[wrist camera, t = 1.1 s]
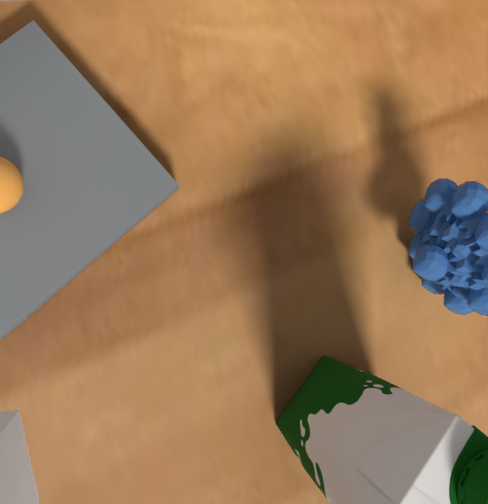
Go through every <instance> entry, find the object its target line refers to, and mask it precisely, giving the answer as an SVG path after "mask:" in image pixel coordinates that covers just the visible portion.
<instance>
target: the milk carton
mask: <svg viewBox="0 0 488 504" xmlns="http://www.w3.org/2000/svg"><path fill="white" fill-rule="evenodd" d="M276 425H277V426H278V428H279V429H280V431H281V432H282V434H283V436H284V437H285V439H286V440H287V442H288V444H289V445H290V447H291V448H292V450H293V451H294V453H295V455H296V456H297V458H298V459H299V461H300V463H301V464H302V466H303V467H304V469H305V470H306V472H307V473H308V474H309V476H310V477H311V478H312V480H313V481H314V482H315V484H316V485H317V486H318V488H319V489H320V490H321V492H322V493H323V494H324V495H325V497H326V498H327V499H328V501H329V502H330V503H331V504H488V437H487V436H486V435H485V434H484V433H482V432H481V431H480V430H479V429H477V428H476V427H475V426H470V425H469V424H468V423H467V422H466V421H465V420H463V419H462V418H461V417H460V416H458V415H457V414H455V413H452V412H450V411H447V410H445V409H442V408H440V407H438V406H436V405H434V404H432V403H430V402H428V401H426V400H424V399H422V398H420V397H418V396H416V395H414V394H412V393H410V392H407V391H405V390H403V389H401V388H399V387H397V386H395V385H393V384H391V383H389V382H387V381H385V380H383V379H381V378H378V377H376V376H374V375H372V374H370V373H367V372H365V371H362V370H360V369H357V368H355V367H352V366H349V365H347V364H344V363H341V362H339V361H336V360H333V359H331V358H328V357H326V356H323V357H322V358H321V360H320V361H319V363H318V364H317V365H316V367H315V368H314V370H313V371H312V372H311V374H310V375H309V377H308V378H307V379H306V381H305V382H304V384H303V385H302V386H301V388H300V389H299V391H298V392H297V393H296V395H295V396H294V398H293V399H292V400H291V402H290V403H289V405H288V406H287V407H286V409H285V410H284V412H283V413H282V414H281V416H280V417H279V419H278V420H277V421H276Z"/></svg>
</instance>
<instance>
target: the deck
mask: <svg viewBox="0 0 488 504" xmlns="http://www.w3.org/2000/svg"><path fill="white" fill-rule="evenodd" d="M0 157H3V158H5V159H7V160H8V161H10V162H11V163H12V164H13V165H14V166H15V167H16V168H17V169H18V170H19V172H20V174H21V176H22V179H23V184H24V188H23V194H22V196H21V199H20V200H19V202H18V203H17V204H16V205H15V206H14V207H13V208H11V209H10V210H8V211H6V212H3V213H0V342H1V341H2V340H3V339H4V338H5V337H6V336H8V335H9V334H10V333H11V332H12V331H13V330H15V329H16V328H17V327H18V326H19V325H20V324H22V323H23V322H24V321H25V320H26V319H27V318H29V317H30V316H31V315H32V314H33V313H35V312H36V311H37V310H38V309H39V308H40V307H42V306H43V305H44V304H45V303H46V302H47V301H49V300H50V299H51V298H52V297H53V296H54V295H56V294H57V293H58V292H59V291H60V290H61V289H63V288H64V287H65V286H66V285H67V284H68V283H70V282H71V281H72V280H73V279H74V278H75V277H77V276H78V275H79V274H80V273H81V272H82V271H84V270H85V269H86V268H87V267H88V266H89V265H91V264H92V263H93V262H94V261H95V260H96V259H98V258H99V257H100V256H101V255H102V254H103V253H105V252H106V251H107V250H108V249H109V248H110V247H112V246H113V245H114V244H115V243H116V242H117V241H119V240H120V239H121V238H122V237H123V236H125V235H126V234H127V233H128V232H129V231H130V230H132V229H133V228H134V227H135V226H136V225H137V224H139V223H140V222H141V221H142V220H143V219H144V218H146V217H147V216H148V215H149V214H150V213H151V212H153V211H154V210H155V209H156V208H157V207H158V206H160V205H161V204H162V203H163V202H164V201H165V200H167V199H168V198H169V197H170V196H171V195H172V194H174V193H175V192H176V191H177V190H178V187H179V184H178V183H177V182H176V181H175V180H174V179H173V177H172V176H171V175H170V174H169V173H168V172H167V171H166V169H165V168H164V167H163V166H162V165H161V164H160V163H159V162H158V160H157V159H156V158H155V157H154V156H153V155H152V154H151V152H150V151H149V150H148V149H147V148H146V147H145V146H144V145H143V143H142V142H141V141H140V140H139V139H138V138H137V137H136V136H135V134H134V133H133V132H132V131H131V130H130V129H129V128H128V126H127V125H126V124H125V123H124V122H123V121H122V120H121V119H120V117H119V116H118V115H117V114H116V113H115V112H114V111H113V109H112V108H111V107H110V106H109V105H108V104H107V103H106V102H105V100H104V99H103V98H102V97H101V96H100V95H99V94H98V92H97V91H96V90H95V89H94V88H93V87H92V86H91V85H90V83H89V82H88V81H87V80H86V79H85V78H84V77H83V76H82V74H81V73H80V72H79V71H78V70H77V69H76V68H75V66H74V65H73V64H72V63H71V62H70V61H69V60H68V59H67V57H66V56H65V55H64V54H63V53H62V52H61V51H60V49H59V48H58V47H57V46H56V45H55V44H54V43H53V42H52V40H51V39H50V38H49V37H48V36H47V35H46V34H45V33H44V31H43V30H42V29H41V28H40V27H39V26H38V25H37V23H36V22H35V21H34V20H33V21H31V22H30V23H28V24H27V25H26V26H24V27H23V28H21V29H20V30H19V31H17V32H16V33H15V34H13V35H12V36H10V37H9V38H8V39H6V40H5V41H3V42H2V43H1V44H0Z"/></svg>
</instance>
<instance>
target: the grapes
mask: <svg viewBox="0 0 488 504" xmlns="http://www.w3.org/2000/svg"><path fill="white" fill-rule="evenodd" d="M409 225H410V226H411V227H412V228H413V229H414V230H415V231H417V232H418V233H416V234H415V235H414V236H413V238H412V239H411V241H410V245H409V256H410V257H411V258H413V259H414V261H413V271H414V272H415V273H416V274H418V275H419V276H420V277H422V286H423V287H424V288H425V289H427V290H428V291H430V292H432V293H433V294H440V295H441V294H444V293H445V294H444V306H445V307H447V308H448V309H449V310H450V311H452V312H454V313H456V314H461V315H466V314H469V313H472V312H473V311H475V312H477V313H478V314H480V315H486V316H488V189H487V188H486V187H485V186H484V185H482V184H480V183H478V182H476V181H466V182H465V183H463V184H461V185H459V186H457V185H456V183H455V182H453V181H451V180H449V179H437V180H436V181H434V182H432V183H431V184H430V186H429V187H428V189H427V190H426V194H425V198H424V199H422V200H420V201H419V202H417V203H415V205H414V206H413V208H412V209H411V212H410V216H409Z"/></svg>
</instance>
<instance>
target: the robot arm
mask: <svg viewBox="0 0 488 504" xmlns="http://www.w3.org/2000/svg"><path fill="white" fill-rule="evenodd" d="M39 502H40V500H39V496H38V492H37V487H36V483H35V478H34V474H33V469H32V465H31V460H30V456H29V452H28V447H27V443H26V438H25V434H24V429H23V425H22V421H21V416H20V412H19V410H14V411H6V412H0V504H39Z"/></svg>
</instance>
